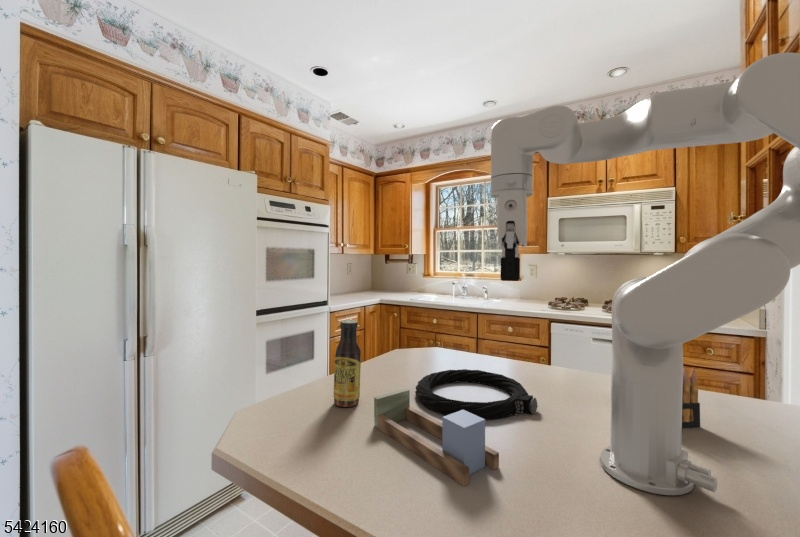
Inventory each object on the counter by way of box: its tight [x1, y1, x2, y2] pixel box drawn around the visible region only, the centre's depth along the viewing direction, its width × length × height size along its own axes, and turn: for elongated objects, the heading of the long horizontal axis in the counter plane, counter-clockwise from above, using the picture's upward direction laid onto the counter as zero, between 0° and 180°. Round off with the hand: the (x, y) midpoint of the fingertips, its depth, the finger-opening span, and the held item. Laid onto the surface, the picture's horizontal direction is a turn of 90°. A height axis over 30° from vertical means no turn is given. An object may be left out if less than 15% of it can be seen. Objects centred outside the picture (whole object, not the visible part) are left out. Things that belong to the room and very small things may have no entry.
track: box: [373, 388, 500, 487], centre depth 68 cm, size 25×8×6 cm, turn 37°
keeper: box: [441, 410, 486, 476], centre depth 61 cm, size 5×5×8 cm
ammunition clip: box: [682, 368, 701, 429], centre depth 75 cm, size 11×2×12 cm, turn 93°
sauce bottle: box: [333, 319, 362, 408], centre depth 87 cm, size 6×6×20 cm
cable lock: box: [414, 368, 539, 420], centre depth 91 cm, size 28×4×30 cm
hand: (510, 279), depth 69 cm, fingers open, 9 cm apart
